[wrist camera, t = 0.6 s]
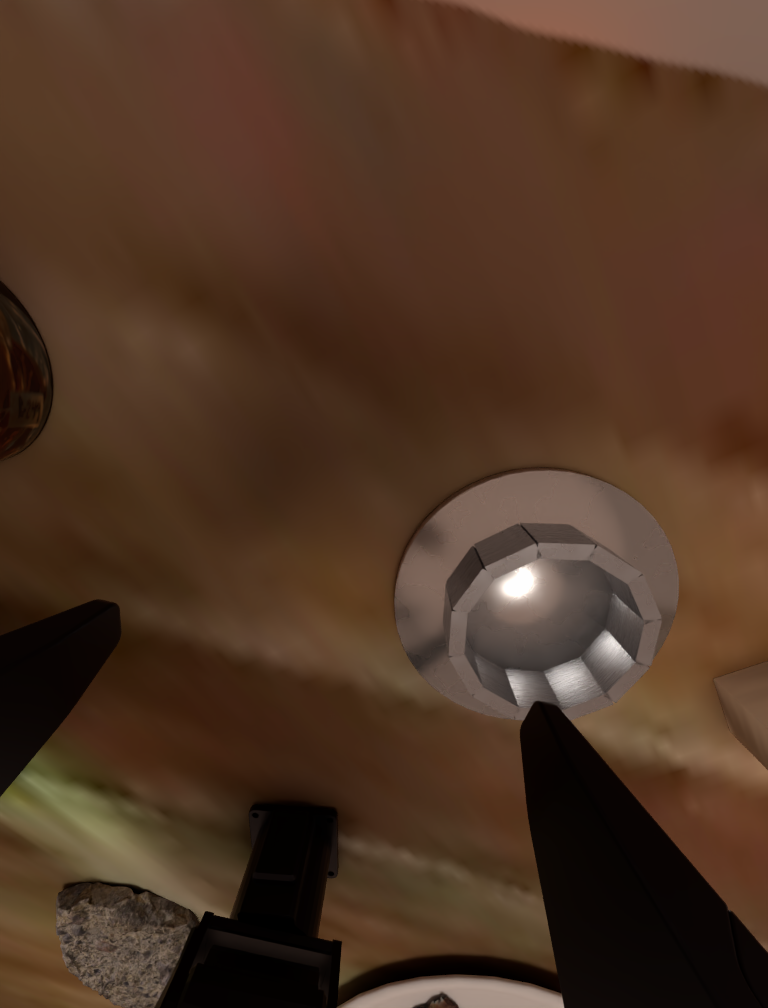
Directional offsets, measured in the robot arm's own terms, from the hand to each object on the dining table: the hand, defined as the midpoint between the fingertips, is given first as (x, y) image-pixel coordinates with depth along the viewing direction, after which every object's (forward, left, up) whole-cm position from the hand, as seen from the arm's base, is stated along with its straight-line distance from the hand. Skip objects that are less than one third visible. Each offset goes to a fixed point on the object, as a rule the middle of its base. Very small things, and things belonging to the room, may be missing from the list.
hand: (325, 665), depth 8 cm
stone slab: (-41, +21, -15) cm, 48 cm away
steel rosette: (-6, -9, -14) cm, 18 cm away
